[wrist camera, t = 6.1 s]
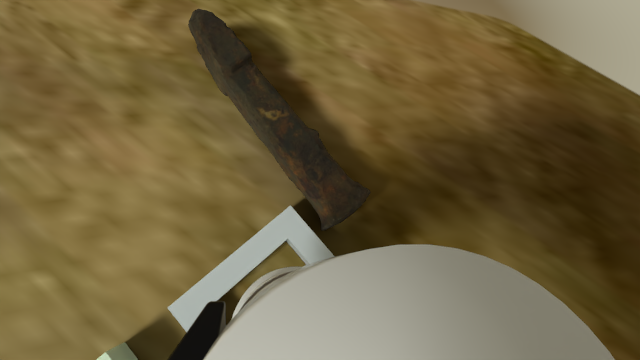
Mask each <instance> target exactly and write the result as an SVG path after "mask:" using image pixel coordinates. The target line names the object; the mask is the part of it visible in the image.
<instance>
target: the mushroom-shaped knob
mask: <svg viewBox="0 0 640 360" xmlns="http://www.w3.org/2000/svg"><path fill="white" fill-rule="evenodd" d="M203 360H615V359H614V358H613V356H612V355H611V354H610V352H609V351H608V350H607V349H606V347H605V346H604V345H603V344H602V343H601V342H600V340H599V339H598V338H597V337H596V336H595V334H594V333H593V332H592V331H591V330H590V329H589V327H588V326H587V325H586V324H585V323H584V322H583V321H582V320H581V319H580V318H579V317H577V316H576V315H575V314H574V313H573V312H572V311H571V310H570V309H569V308H568V307H567V306H566V305H565V304H564V303H563V302H561V301H560V300H559V299H558V298H556V297H555V296H554V295H552V294H551V293H550V292H548V291H547V290H546V289H545V288H543V287H542V286H541V285H539V284H538V283H536V282H535V281H533V280H531V279H530V278H528V277H526V276H524V275H523V274H521V273H519V272H518V271H516V270H514V269H513V268H511V267H508V266H506V265H504V264H501V263H499V262H497V261H495V260H492V259H490V258H488V257H485V256H482V255H478V254H475V253H471V252H468V251H464V250H461V249H457V248H450V247H443V246H436V245H429V244H427V245H393V246H387V247H380V248H373V249H367V250H363V251H358V252H354V253H349V254H345V255H340V256H336V257H331V258H327V259H324V260H321V261H317V262H314V263H311V264H308V265H306V266H303V267H287V268H281V269H278V270H274V271H272V272H269V273H267V274H265V275H264V276H262V277H260V278H259V279H258V280H256V281H255V282H254V283H253V284H252V285H251V286H250V287H249V288H248V289H247V291H246V292H245V293H244V295H243V296H242V298H241V299H240V301H239V303H238V305H237V307H236V309H235V311H234V313H233V317H232V320H231V321H230V322H229V323H228V325H227V326H226V327H225V329H224V330H223V331H222V332H221V334H220V335H219V336H218V338H217V339H216V340H215V342H214V343H213V345H212V346H211V348H210V349H209V351H208V353H207V354H206V356H205V358H204V359H203Z"/></svg>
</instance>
